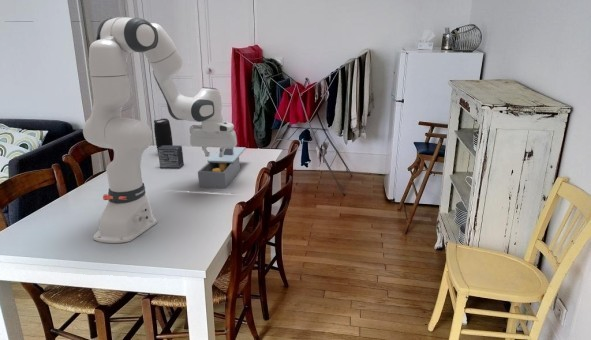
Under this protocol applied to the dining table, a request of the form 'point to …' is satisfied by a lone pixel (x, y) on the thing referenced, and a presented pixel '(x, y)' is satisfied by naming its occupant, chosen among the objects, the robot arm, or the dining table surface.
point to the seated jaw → (223, 166)
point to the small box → (170, 156)
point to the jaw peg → (216, 170)
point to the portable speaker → (162, 132)
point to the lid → (227, 155)
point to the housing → (218, 175)
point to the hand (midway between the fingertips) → (214, 156)
